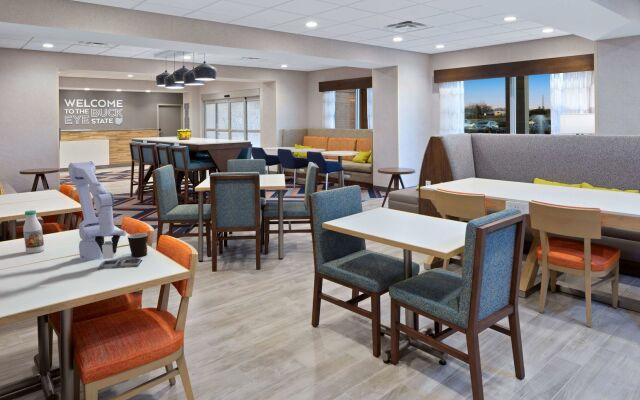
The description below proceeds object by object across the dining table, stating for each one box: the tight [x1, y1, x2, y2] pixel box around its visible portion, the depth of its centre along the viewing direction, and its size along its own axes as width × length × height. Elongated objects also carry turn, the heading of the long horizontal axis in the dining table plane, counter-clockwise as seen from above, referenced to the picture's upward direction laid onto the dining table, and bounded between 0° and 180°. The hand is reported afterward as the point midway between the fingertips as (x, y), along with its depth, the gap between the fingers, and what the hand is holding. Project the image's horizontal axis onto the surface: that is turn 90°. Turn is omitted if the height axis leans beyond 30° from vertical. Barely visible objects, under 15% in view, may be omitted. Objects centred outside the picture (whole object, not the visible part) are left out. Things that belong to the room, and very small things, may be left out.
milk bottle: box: [22, 209, 45, 254], centre depth 222 cm, size 8×8×20 cm
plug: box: [102, 240, 117, 260], centre depth 197 cm, size 4×4×7 cm
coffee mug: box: [127, 232, 149, 259], centre depth 213 cm, size 12×9×10 cm
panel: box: [97, 257, 143, 271], centre depth 199 cm, size 16×10×2 cm, turn 99°
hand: (109, 252), depth 197 cm, fingers closed on plug, 4 cm apart
